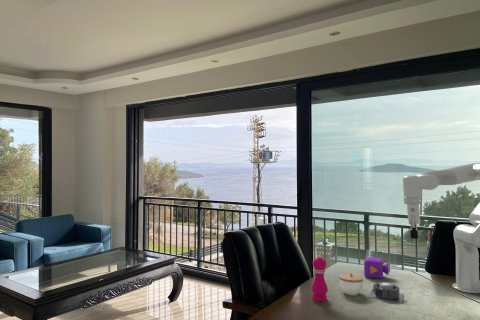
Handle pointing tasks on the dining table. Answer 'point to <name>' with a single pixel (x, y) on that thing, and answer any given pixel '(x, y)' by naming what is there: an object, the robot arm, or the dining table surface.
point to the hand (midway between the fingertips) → (414, 238)
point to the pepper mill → (319, 280)
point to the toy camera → (375, 268)
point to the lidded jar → (351, 283)
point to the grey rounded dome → (386, 286)
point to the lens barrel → (386, 294)
